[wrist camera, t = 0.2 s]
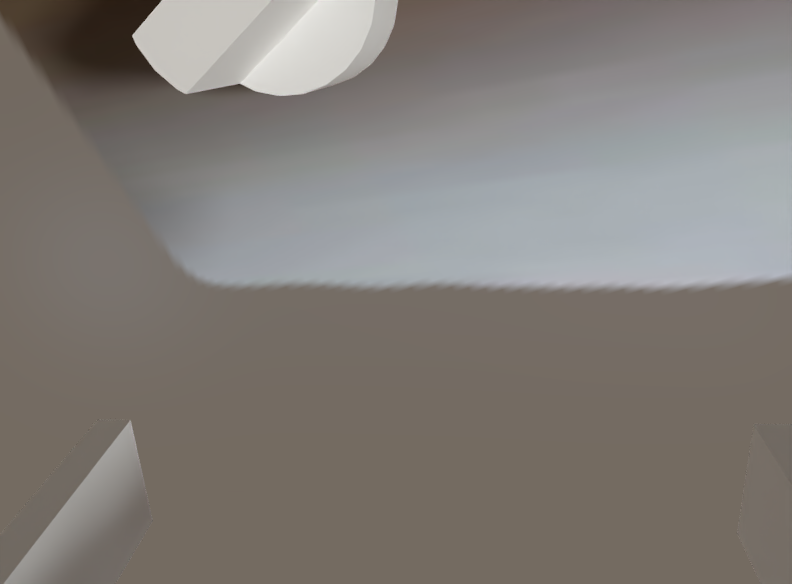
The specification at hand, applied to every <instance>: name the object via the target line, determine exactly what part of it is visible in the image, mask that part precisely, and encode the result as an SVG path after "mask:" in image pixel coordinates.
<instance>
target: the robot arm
mask: <svg viewBox="0 0 792 584" xmlns="http://www.w3.org/2000/svg"><path fill="white" fill-rule="evenodd" d="M152 521H153V520H152V516H151V511H150V507H149V502H148V497H147V493H146V488H145V484H144V479H143V474H142V470H141V465H140V461H139V456H138V452H137V447H136V443H135V438H134V433H133V429H132V424H131V420H97V421H96V422H95V423H94V424H93V426H92V427H91V428H90V429H89V430H88V432H87V433H86V434H85V435H84V436H83V437H82V439H81V440H80V441H79V442H78V443H77V444H76V446H75V447H74V448H73V449H72V450H71V451H70V453H69V454H68V455H67V456H66V457H65V459H64V460H63V461H62V462H61V463H60V464H59V466H58V467H57V468H56V469H55V470H54V472H53V473H52V474H51V475H50V476H49V477H48V479H47V480H46V481H45V482H44V483H43V484H42V486H41V487H40V488H39V489H38V490H37V492H36V493H35V494H34V495H33V496H32V497H31V499H30V500H29V501H28V502H27V503H26V504H25V506H24V507H23V508H22V509H21V510H20V511H19V513H18V514H17V515H16V517H14V519H13V520H12V521H11V522H10V523H9V525H8V526H7V527H6V528H5V529H4V530H3V532H2V533H1V534H0V584H116V582H117V580H118V579H119V577H120V575H121V574H122V572H123V570H124V569H125V567H126V565H127V563H128V562H129V560H130V558H131V557H132V555H133V553H134V552H135V550H136V548H137V546H138V545H139V543H140V541H141V540H142V538H143V536H144V535H145V533H146V531H147V530H148V528H149V526H150V524H151V523H152ZM737 534H738V536H739V538H740V540H741V543H742V545H743V547H744V549H745V551H746V553H747V555H748V557H749V560H750V562H751V564H752V566H753V568H754V570H755V572H756V575H757V576H758V579H759V581H760V583H761V584H792V424H754V426H753V433H752V439H751V446H750V453H749V460H748V466H747V472H746V479H745V486H744V493H743V500H742V506H741V512H740V519H739V526H738V533H737Z"/></svg>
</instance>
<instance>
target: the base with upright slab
mask: <svg viewBox="0 0 792 584" xmlns="http://www.w3.org/2000/svg"><path fill="white" fill-rule="evenodd" d="M397 4H398V0H162V1H161V2H160V3H159V4H158V5H157V7H156V8H155V9H154V10H153V11H152V13H151V14H150V15H149V16H148V17H147V19H146V20H145V21H144V22H143V23H142V24H141V26H140V27H139V28H138V29H137V30H136V32H135V33H134V34H133V35H132V37H133V39H134V41H135V44H136V45H137V47H138V48H139V49H140V51H141V52H142V54H143V55H144V56H145V58H146V59H147V60H148V62H149V63H150V64H151V66H152V67H153V69H154V70H155V71H156V72H157V73H159V74H160V75H161V76H162V77H163V78H164V79H166V80H167V81H168V82H169V83H170V84H171V85H173V86H174V87H175V88H176V89H177V90H179V91H181V92H183V93H185V94H189V93H194V92H199V91H204V90H210V89H215V88H220V87H225V86H230V85H236V84H242V85H244V86H246V87H248V88H250V89H252V90H254V91H257V92H262V93H267V94H272V95H277V96H284V95H296V94H305V93H308V92H311V91H315V90H318V89H322V88H325V87H329V86H332V85H335V84H338V83H340V82H343V81H346V80H348V79H351V78H353V77H355V76H356V75H358V74H359V73H360V72H362V71H363V70H364V69H366V68H367V67H368V66H370V65H371V64H372V63H373V61H374V60H375V59H376V57H377V56H378V55H379V54H380V52H381V51H382V50H383V48H384V47H385V45H386V43H387V41H388V38H389V36H390V34H391V31H392V29H393V27H394V23H395V17H396V10H397Z"/></svg>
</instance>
